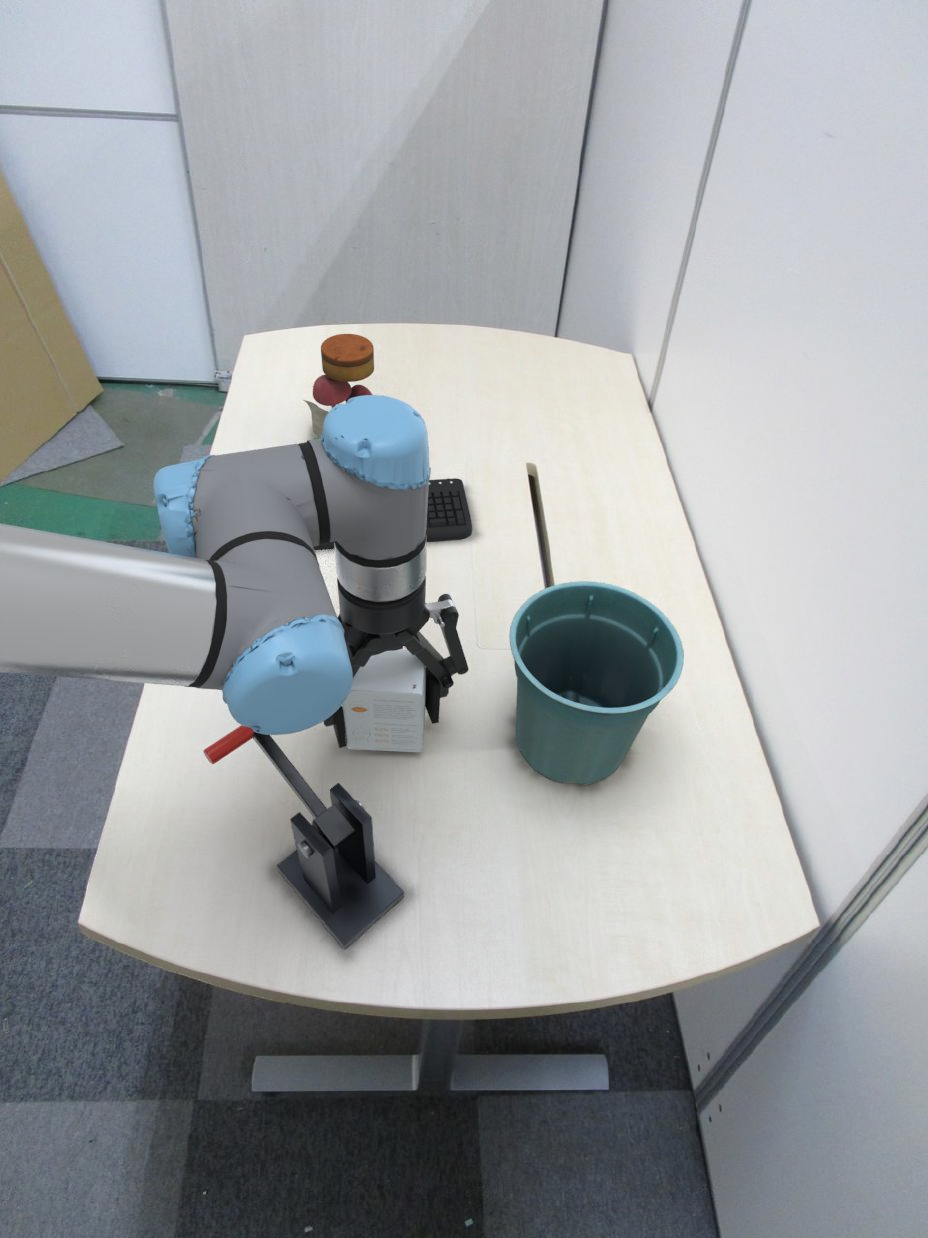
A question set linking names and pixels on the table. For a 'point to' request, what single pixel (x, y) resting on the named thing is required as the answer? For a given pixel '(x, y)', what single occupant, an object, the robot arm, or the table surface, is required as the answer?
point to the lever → (326, 820)
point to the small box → (387, 704)
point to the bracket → (340, 873)
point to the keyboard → (442, 512)
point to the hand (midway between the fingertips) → (386, 724)
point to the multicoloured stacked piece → (341, 374)
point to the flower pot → (588, 676)
